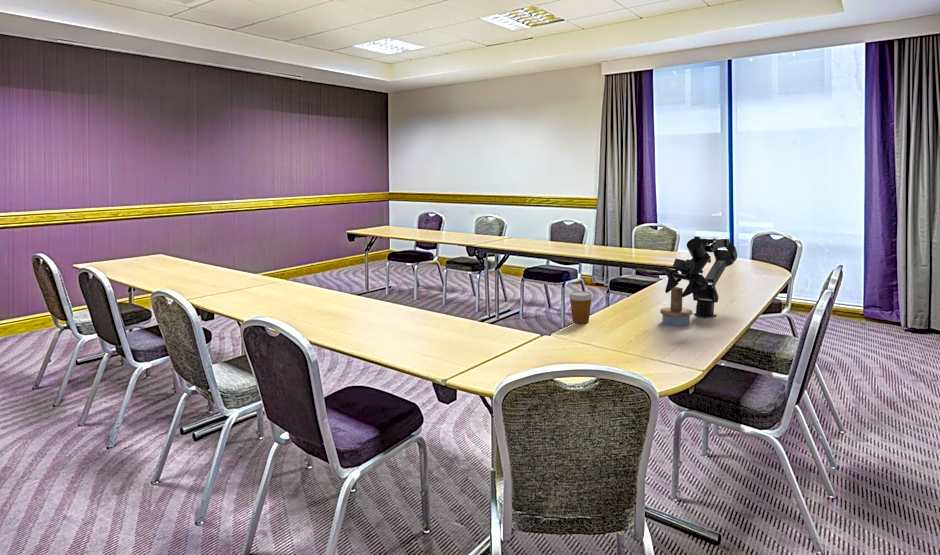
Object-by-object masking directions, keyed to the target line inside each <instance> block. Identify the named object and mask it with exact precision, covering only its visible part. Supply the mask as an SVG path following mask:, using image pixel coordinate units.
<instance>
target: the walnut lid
mask: <svg viewBox="0 0 940 555" xmlns="http://www.w3.org/2000/svg"><path fill="white" fill-rule="evenodd" d="M683 292H684V290H683V287H678V286H675V287H674V288H671V291H670V307H663V308H660V310H659V313H660V314H664V315H668V316H689V315H690V316H692V315H693V310H692V309H689V308H685V307H683V297H682V296H681V295H682V293H683Z"/></svg>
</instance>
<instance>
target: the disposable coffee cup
mask: <svg viewBox="0 0 940 555" xmlns="http://www.w3.org/2000/svg"><path fill="white" fill-rule="evenodd" d="M593 298H594V296H593V294H592V292H590V291H584V290H579V291H578V290H577V291H576V290H575V291H571V292H570V293H569V295H568V299H569V301H570V303H569V304H570V310H571V315H572V319H571V320H572V323H574V324H576V325H585V324H589V321H590V314H591V306H592V299H593ZM577 323H578V324H577Z"/></svg>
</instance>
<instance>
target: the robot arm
mask: <svg viewBox="0 0 940 555" xmlns="http://www.w3.org/2000/svg"><path fill="white" fill-rule="evenodd" d="M686 248H687V250H688V252H689V254H690V256H691V258H690V259H689V258H687V259H685V260H684V259H681V258H680V259H679V258H675V259H674V261H673V264H672V267H674V268H671V267H670V268H667V269H666V270H665V271H664V274H666V275H665V276H666V277H667V282H666V283H667V284H666V287H665V290H664V292H665V293H666V294H668V293H670V292H671V288H674V287H678V285H679V284H680V282H681V281H682V280H684V281H687V282H688V284H687V285H686V287H685V289H684V290H683V293H682V295H681V296H682V298H685V297H687V296H690V295H691V294H692V298H693V301H696V306H695V308H696V309H695V312H694V313H693V315H694V316H698V317H701V318H704V319H705V318H712V317H717V316H718V315H717V314H716V313H715V303H719V297H720V296H719V293H718V291H717V289H716V285H717V283H718V281H719V280H720V278H721V276H722V275H723V273H724V271H725V270H726V268H727V267H730V266H733V264H734V263H735V262H736V260H737V259H738V252H737V247H736V246H735V245H733V243H731V241H730V239H729V238H728V237H719V236H718V237H715V238H713V237H701V236H698V235H697V236H693V238H691V239H689V240H688V241H687V242H686ZM709 253H712V254H713V256H714V258H715V259H714V260H715V261H714V263H713V264H712V266H711V267H710V268H709V269H710V270H709V271H708V273H707V274H706V276H704V275H703V273H704V270H703V269H704V267H705V266H707V264H708V263H709V264H711V262H712V259H711V258H712V257H711V255H710V254H709ZM675 268H676V269H675ZM677 269H678V270H677Z"/></svg>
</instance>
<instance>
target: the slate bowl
mask: <svg viewBox="0 0 940 555" xmlns="http://www.w3.org/2000/svg"><path fill="white" fill-rule="evenodd" d="M661 318H662V320H661V322H662V324H664V325H667V326H672V325H673V327H684V326H688V325H690V323H691V322H690V320H691V315H689V316H668V315H664V314H662V316H661Z"/></svg>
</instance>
